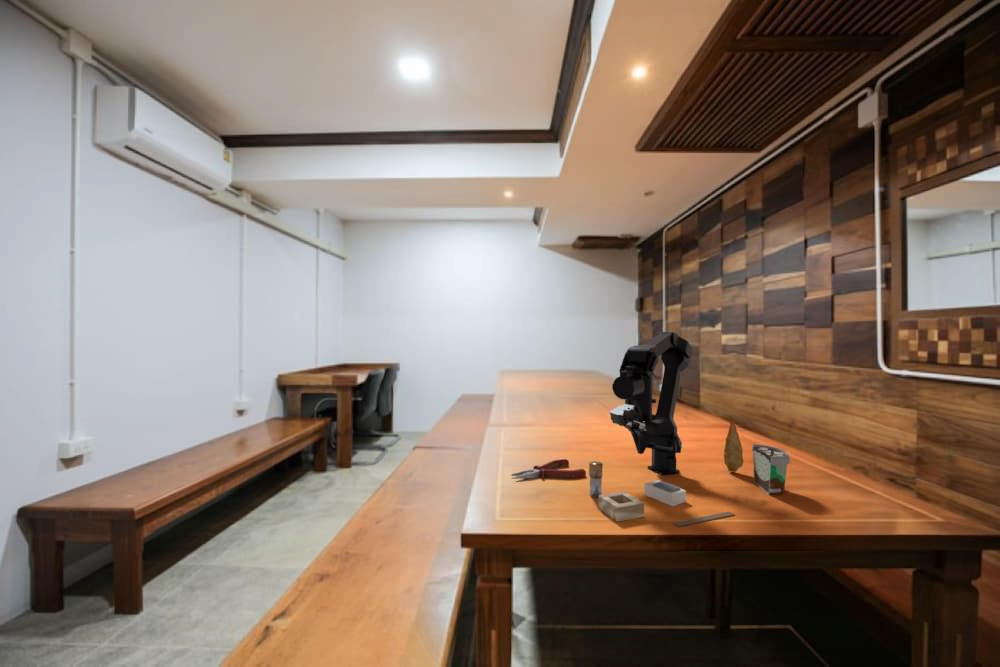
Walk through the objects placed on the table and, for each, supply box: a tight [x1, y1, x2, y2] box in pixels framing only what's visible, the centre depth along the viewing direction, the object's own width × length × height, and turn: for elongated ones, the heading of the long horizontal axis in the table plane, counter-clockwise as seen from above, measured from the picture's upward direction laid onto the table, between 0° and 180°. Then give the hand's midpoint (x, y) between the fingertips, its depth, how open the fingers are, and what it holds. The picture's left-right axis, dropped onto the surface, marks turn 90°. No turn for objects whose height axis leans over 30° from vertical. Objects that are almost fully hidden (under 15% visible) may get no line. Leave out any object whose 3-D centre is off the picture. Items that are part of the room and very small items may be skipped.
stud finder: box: [643, 479, 687, 507], centre depth 101 cm, size 8×5×4 cm, turn 32°
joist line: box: [672, 511, 736, 528], centre depth 90 cm, size 2×16×1 cm, turn 111°
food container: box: [751, 443, 791, 496], centre depth 107 cm, size 12×6×10 cm, turn 168°
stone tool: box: [723, 419, 744, 473], centre depth 119 cm, size 5×2×15 cm, turn 97°
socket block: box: [598, 491, 645, 522], centre depth 93 cm, size 7×7×3 cm
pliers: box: [510, 458, 587, 480], centre depth 117 cm, size 12×20×3 cm, turn 111°
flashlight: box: [588, 460, 604, 499], centre depth 102 cm, size 3×3×8 cm
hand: (640, 453), depth 109 cm, fingers closed
